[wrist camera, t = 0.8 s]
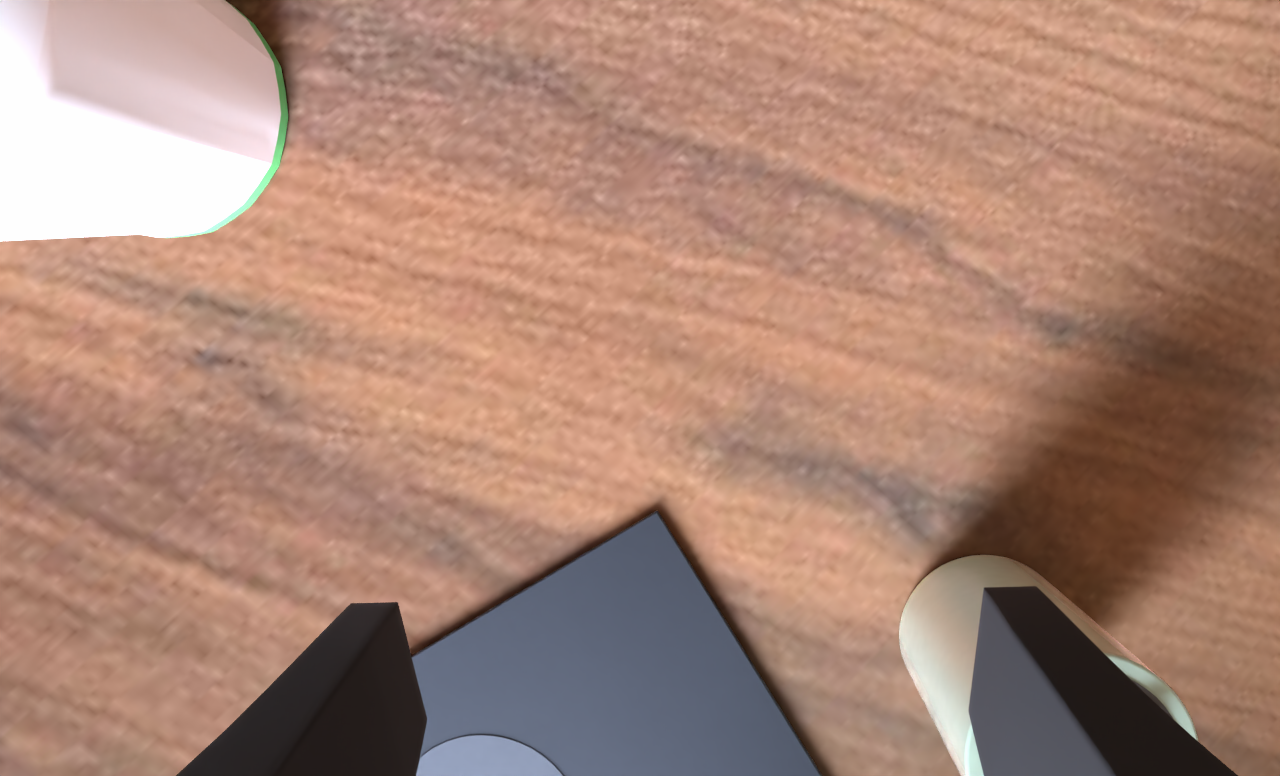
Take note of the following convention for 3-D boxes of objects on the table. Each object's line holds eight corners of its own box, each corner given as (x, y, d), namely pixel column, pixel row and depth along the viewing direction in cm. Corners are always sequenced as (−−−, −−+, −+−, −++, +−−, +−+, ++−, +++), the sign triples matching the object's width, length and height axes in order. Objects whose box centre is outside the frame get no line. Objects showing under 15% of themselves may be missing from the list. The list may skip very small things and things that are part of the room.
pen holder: (1099, 664, 30) (1282, 840, 20) (952, 742, 31) (1060, 949, 21) (1013, 523, 30) (1156, 631, 20) (867, 605, 31) (936, 749, 21)
